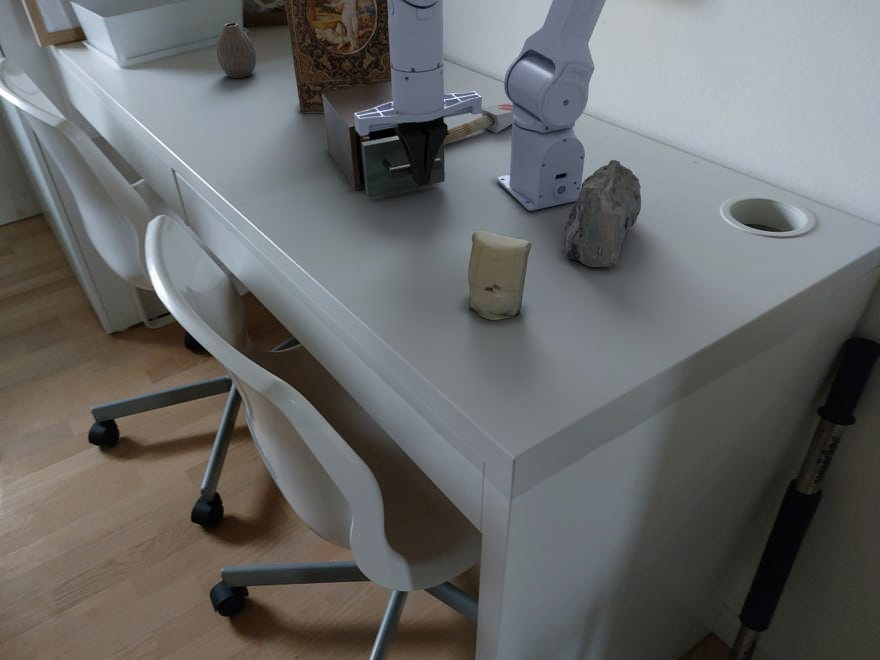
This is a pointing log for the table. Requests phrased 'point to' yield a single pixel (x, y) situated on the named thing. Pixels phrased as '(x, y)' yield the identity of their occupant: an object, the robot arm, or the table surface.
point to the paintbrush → (484, 122)
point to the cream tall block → (497, 274)
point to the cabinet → (350, 123)
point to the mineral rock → (603, 215)
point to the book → (337, 46)
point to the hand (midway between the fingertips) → (421, 181)
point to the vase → (236, 52)
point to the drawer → (390, 163)
